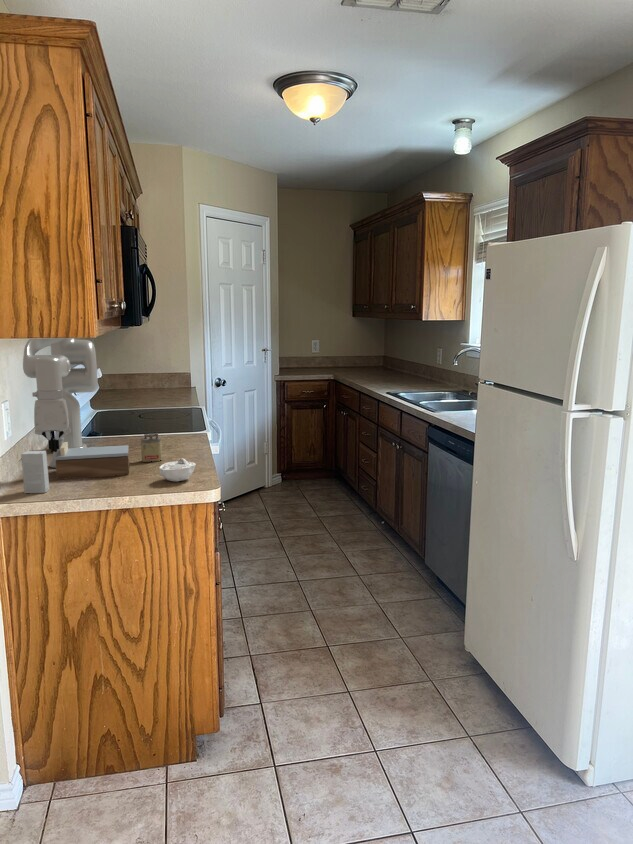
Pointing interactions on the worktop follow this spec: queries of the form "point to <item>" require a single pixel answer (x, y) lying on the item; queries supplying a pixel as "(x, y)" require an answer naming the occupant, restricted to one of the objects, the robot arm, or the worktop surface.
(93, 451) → the lid
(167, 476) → the cell model
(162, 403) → the worktop surface
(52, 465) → the flask
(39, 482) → the skincare box
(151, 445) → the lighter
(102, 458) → the wooden box
